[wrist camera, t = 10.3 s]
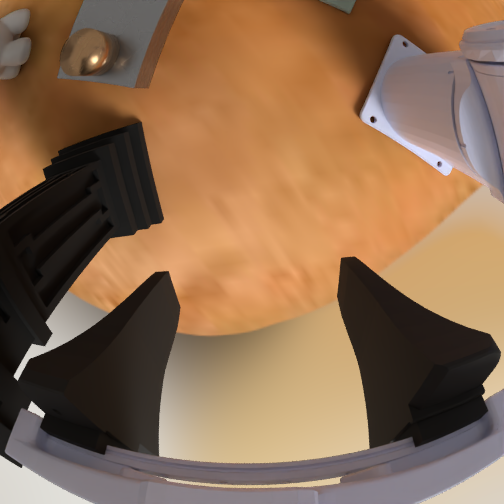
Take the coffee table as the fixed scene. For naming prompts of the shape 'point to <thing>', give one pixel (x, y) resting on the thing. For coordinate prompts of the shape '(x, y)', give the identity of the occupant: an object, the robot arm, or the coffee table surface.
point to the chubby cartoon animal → (13, 43)
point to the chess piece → (64, 241)
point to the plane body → (117, 41)
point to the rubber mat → (341, 4)
